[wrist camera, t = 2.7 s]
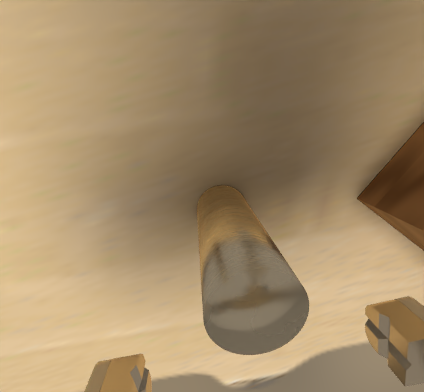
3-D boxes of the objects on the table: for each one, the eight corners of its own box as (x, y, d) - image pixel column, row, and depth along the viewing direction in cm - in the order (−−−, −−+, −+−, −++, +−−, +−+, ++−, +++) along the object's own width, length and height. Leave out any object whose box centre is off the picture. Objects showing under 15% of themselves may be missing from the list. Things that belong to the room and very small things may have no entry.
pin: (215, 175, 18) (247, 249, 8) (255, 202, 19) (330, 299, 9) (187, 215, 19) (182, 330, 9) (227, 239, 20) (264, 367, 10)
